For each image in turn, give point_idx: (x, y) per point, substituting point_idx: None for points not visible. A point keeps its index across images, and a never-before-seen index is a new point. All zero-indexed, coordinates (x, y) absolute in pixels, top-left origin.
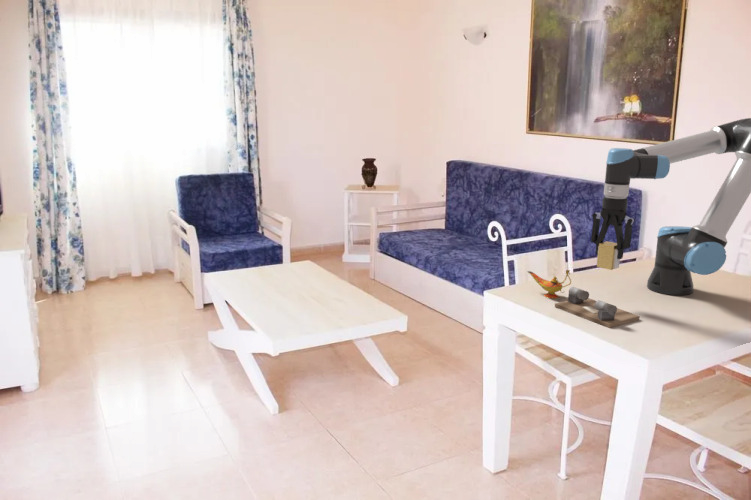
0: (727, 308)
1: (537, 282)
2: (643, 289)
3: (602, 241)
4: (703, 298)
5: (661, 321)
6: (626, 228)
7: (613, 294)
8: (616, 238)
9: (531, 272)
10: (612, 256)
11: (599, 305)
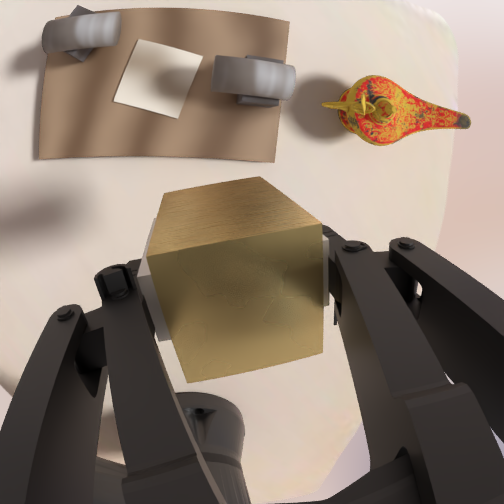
0: None
1: (419, 99)
2: (224, 385)
3: (339, 310)
4: (109, 424)
5: (11, 206)
6: (8, 491)
7: None
8: (154, 349)
9: (462, 126)
10: (159, 219)
11: (97, 13)
